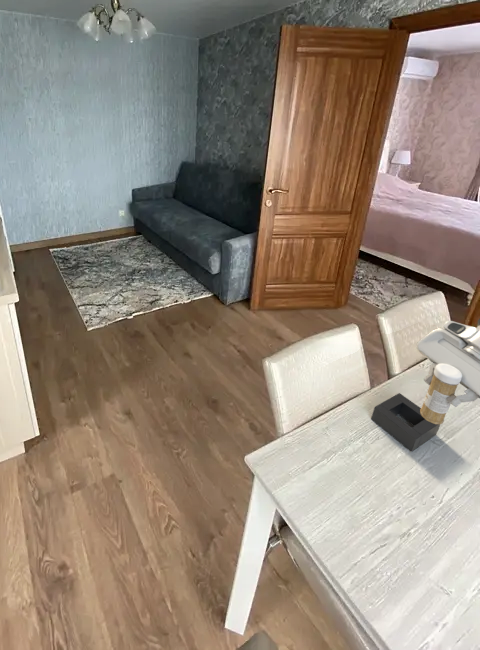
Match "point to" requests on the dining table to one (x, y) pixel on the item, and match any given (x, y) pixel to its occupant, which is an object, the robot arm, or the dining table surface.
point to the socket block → (398, 428)
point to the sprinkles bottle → (440, 393)
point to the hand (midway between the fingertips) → (438, 392)
